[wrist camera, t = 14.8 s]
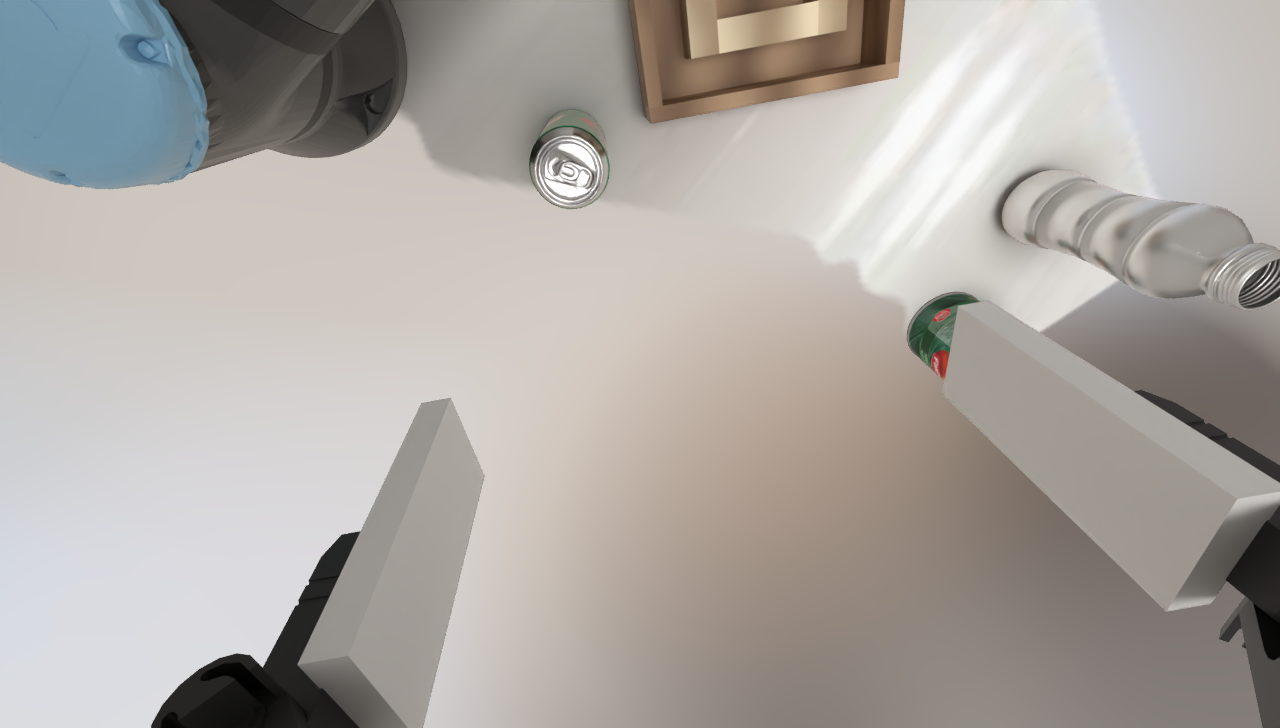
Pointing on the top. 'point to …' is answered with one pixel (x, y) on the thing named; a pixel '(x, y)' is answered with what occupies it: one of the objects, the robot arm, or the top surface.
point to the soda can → (570, 160)
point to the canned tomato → (936, 330)
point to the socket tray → (758, 50)
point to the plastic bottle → (1145, 239)
